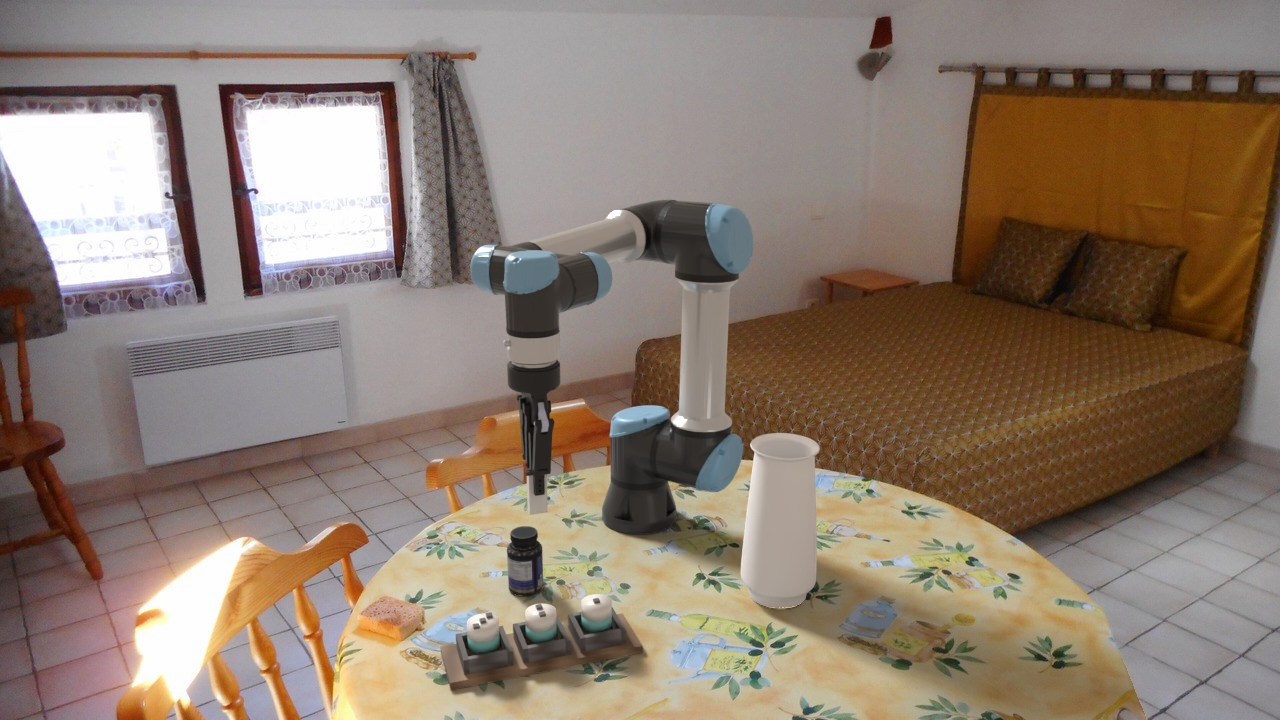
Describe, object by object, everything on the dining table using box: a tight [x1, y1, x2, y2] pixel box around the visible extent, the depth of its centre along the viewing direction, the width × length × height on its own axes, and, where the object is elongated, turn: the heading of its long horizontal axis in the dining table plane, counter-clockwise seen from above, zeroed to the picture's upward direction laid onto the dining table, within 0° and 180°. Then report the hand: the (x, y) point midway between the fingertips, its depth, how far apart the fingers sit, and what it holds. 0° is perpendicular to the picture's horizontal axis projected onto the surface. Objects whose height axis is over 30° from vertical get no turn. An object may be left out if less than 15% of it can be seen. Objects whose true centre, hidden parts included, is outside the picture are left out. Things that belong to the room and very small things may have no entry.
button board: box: [439, 606, 644, 691], centre depth 153 cm, size 30×10×4 cm, turn 109°
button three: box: [466, 612, 500, 654], centre depth 149 cm, size 5×5×4 cm
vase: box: [740, 432, 821, 608], centre depth 167 cm, size 13×13×28 cm
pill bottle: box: [506, 525, 544, 597], centre depth 171 cm, size 6×6×11 cm
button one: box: [580, 593, 613, 633], centre depth 155 cm, size 5×5×4 cm
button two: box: [524, 603, 557, 643], centre depth 152 cm, size 5×5×4 cm
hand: (537, 511), depth 147 cm, fingers closed
